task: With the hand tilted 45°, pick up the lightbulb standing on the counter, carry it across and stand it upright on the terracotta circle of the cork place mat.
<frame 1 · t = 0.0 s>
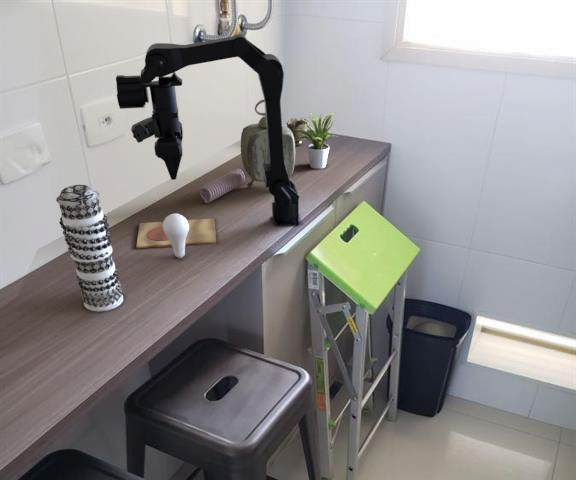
hand: (173, 172, 148), 15 cm above the counter, tool pointing down, fingers open, 9 cm apart
lightbulb: (180, 258, 144), on the counter
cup: (297, 145, 208), on the counter
white patterned tall cylinder: (104, 301, 129), on the counter
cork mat: (176, 233, 154), on the counter
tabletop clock: (270, 189, 177), on the counter
coil: (223, 193, 175), on the counter
house plant: (318, 165, 193), on the counter
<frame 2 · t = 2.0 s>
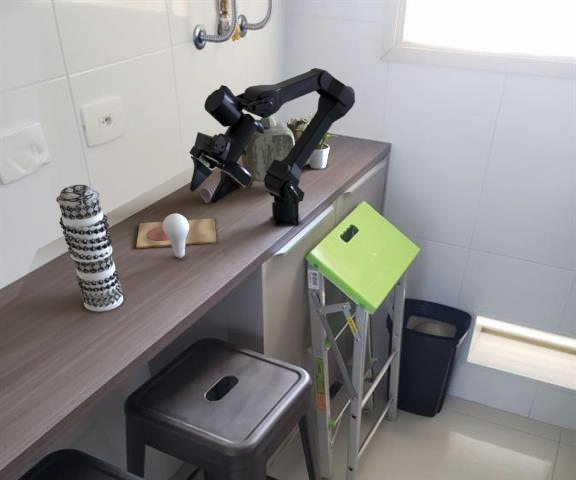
hand: (201, 196, 139), 13 cm above the counter, tool tilted 45°, fingers open, 9 cm apart
nothing on the counter moved.
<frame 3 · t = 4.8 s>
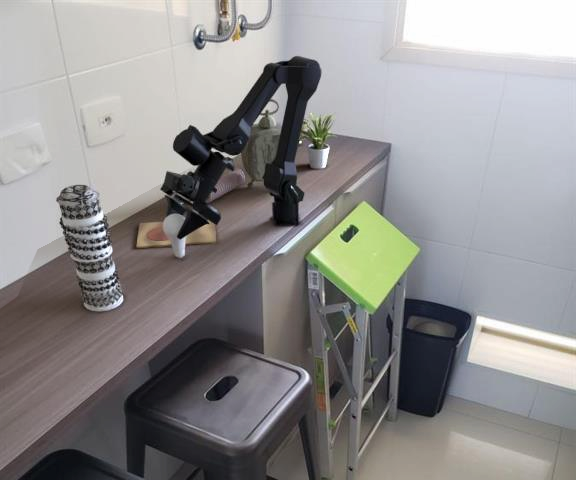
hand: (171, 233, 139), 7 cm above the counter, tool tilted 45°, fingers closed on lightbulb, 6 cm apart
lightbulb: (180, 258, 144), on the counter, touching gripper
everything else where it was.
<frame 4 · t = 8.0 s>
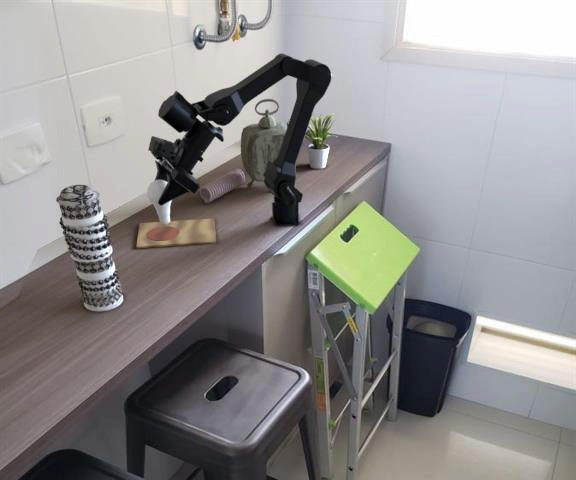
hand: (155, 199, 141), 12 cm above the counter, tool tilted 45°, fingers closed on lightbulb, 6 cm apart
lightbulb: (165, 225, 146), point 5 cm above the counter, touching gripper
everything else where it was.
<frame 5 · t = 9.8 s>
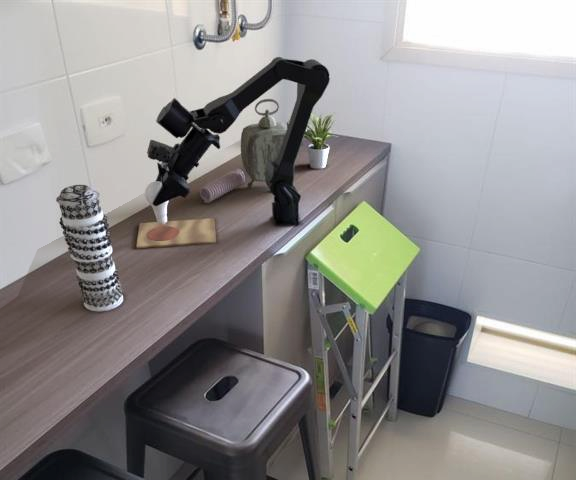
hand: (152, 200, 147), 10 cm above the counter, tool tilted 45°, fingers closed on lightbulb, 6 cm apart
lightbulb: (162, 224, 152), point 3 cm above the counter, touching gripper
everything else where it was.
when the fingers open (7 cm above the counter, at t = 11.0 s): lightbulb stays where it is, resting on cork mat.
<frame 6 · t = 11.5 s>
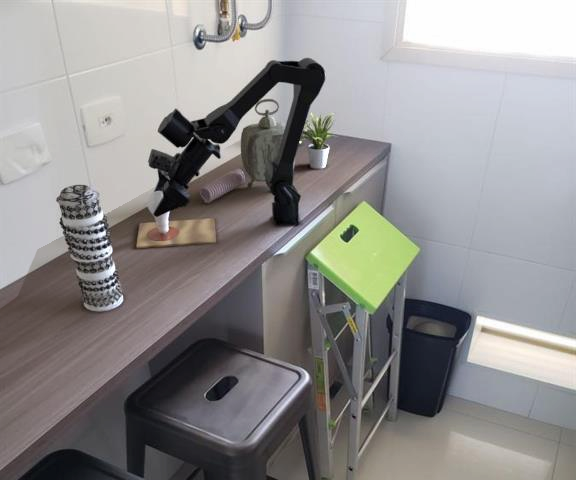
hand: (153, 208, 148), 8 cm above the counter, tool tilted 45°, fingers open, 9 cm apart
lightbulb: (164, 233, 153), resting on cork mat
everything else where it was.
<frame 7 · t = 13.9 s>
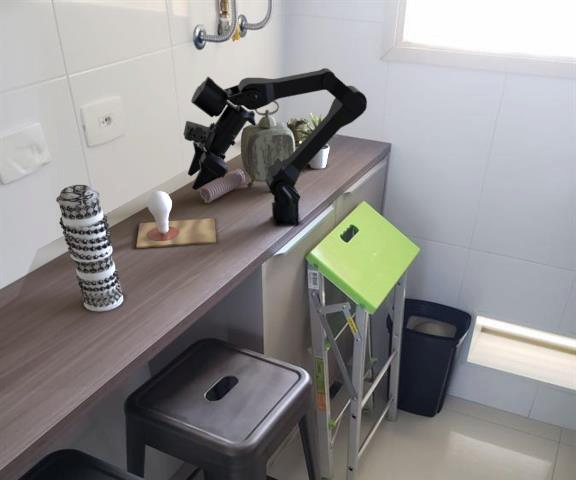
hand: (191, 181, 148), 13 cm above the counter, tool tilted 40°, fingers open, 9 cm apart
nothing on the counter moved.
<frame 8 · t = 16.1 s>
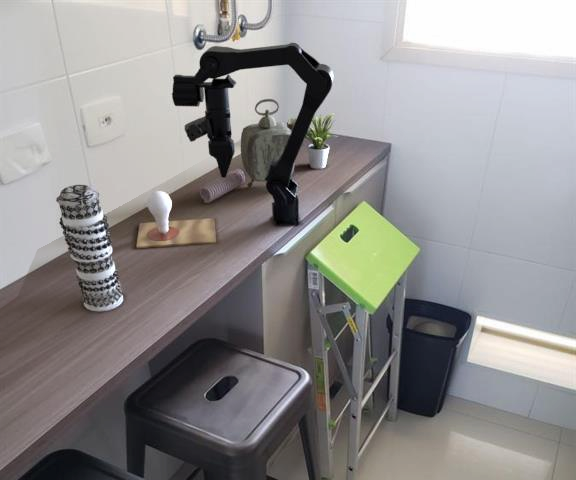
hand: (222, 170, 153), 13 cm above the counter, tool pointing down, fingers open, 9 cm apart
nothing on the counter moved.
at the end: lightbulb inside the target area on the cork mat (0.3 cm from its centre), point 0.4 cm above the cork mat's base; lightbulb tilted 0°; the gripper is holding nothing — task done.
